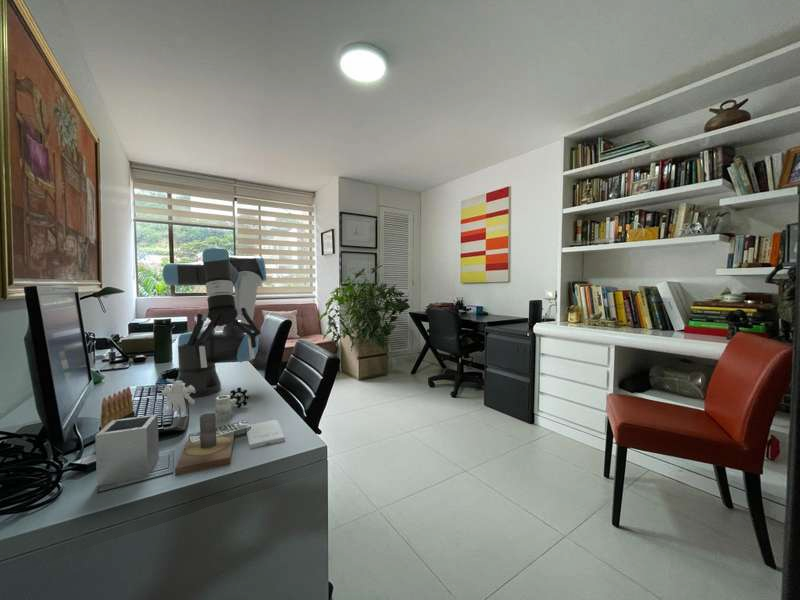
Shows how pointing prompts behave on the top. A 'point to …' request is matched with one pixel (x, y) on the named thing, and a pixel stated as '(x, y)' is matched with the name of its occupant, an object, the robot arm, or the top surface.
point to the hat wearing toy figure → (178, 395)
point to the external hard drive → (264, 433)
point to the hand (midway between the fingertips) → (228, 363)
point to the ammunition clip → (117, 408)
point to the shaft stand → (206, 448)
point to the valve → (229, 404)
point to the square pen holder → (127, 449)
